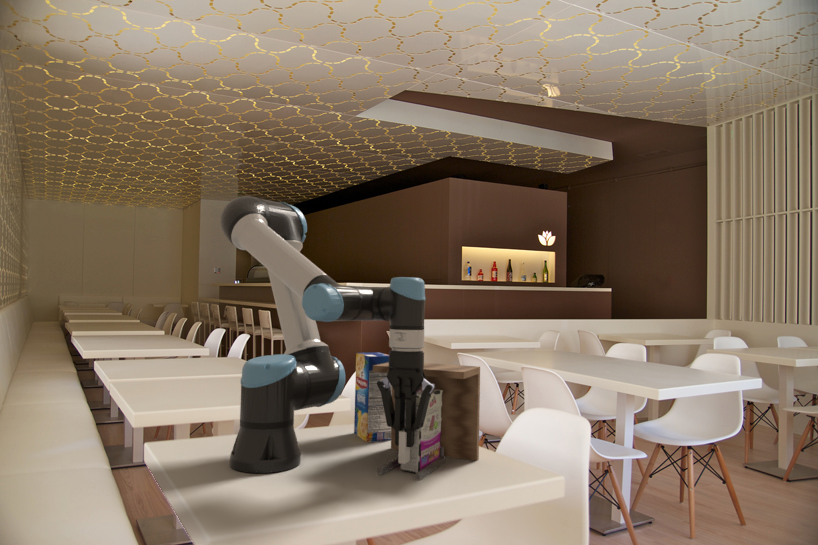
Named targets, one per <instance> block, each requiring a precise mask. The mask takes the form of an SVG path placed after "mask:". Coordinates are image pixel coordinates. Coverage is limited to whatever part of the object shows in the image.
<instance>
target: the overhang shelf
mask: <svg viewBox="0 0 818 545" xmlns="http://www.w3.org/2000/svg"><path fill="white" fill-rule="evenodd" d="M388 371H389V362H388V363H383V364H378V365H373V372H379V373H388ZM423 371H424V374H425V379H426V380H427V381H428V382H430V383H431V384H435V389H438V390H443V393H442V419H441V443H440V457H439V458H438V459H436V460H435V461H433V462H432V463H430V464H429V465H427V466H426V467H425V468H423V469H422V470H420V471H419V472H417V473H415V481H421V480H422V479H425V477H427V476H428V475H430V474H431V473H432V472H434V471H435V470H437V468H439V467H440V466H441V465H443V464H444V463H446V458H452V459H460V460H469V461H475V462H477V461H478V460H479V459H480V458H479V457H480V455H479V454H480V401H481V400H480V398H481V396H480V395H481V392H480V391H481V366H476V365H475V366H473V365H463V364H462V365H461V364H459V365H458V364H446V363H433V362H432V363H431V362H424V369H423ZM420 389H422V385H421V387H420V388H419V389H418V390H420ZM392 400H393V405H394V410H395V397H394V389H393V387H392ZM390 449H391V450H395V451H399V446H396V444H395V429H394V428H392V427H391V440H390ZM398 458H399V455H398V456H396V457H395V458H392V459H391V460H389V461H387V462H386V463H384V464H382V465H380V466H378V468H377V474H378V475H384V474H385V473H387V472H389V471H390V470H392V469H393V468H395V467H397V466H399V465H401V463H398Z"/></svg>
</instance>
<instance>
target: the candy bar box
mask: <svg viewBox="0 0 818 545" xmlns="http://www.w3.org/2000/svg"><path fill="white" fill-rule="evenodd" d="M422 392H423V390H422V389H420V390H418V391H417V396H416V414H417V410H418V406H419V402H420V398H421V394H422ZM442 393H443V390H438V389H434V390H433V392H432V394H431V396H430V400H429V404H428V408H427V412H426V416H425V420H424V424H423V427H422V428H420V429H418V430H415V432H414V445H413V446H412V447H410V461H409V462H407V463H406V464H402V463H400V470H401V471H404V472H410V473H413V474H416V473H417V472H419V471H420V470H422V469H423V468H425V467H426V466H427V465H429V464H430V463H432V462H433V461H435V460H436V459H438V458H439V457H440V443H441V419H442ZM404 426H405V427H404V428H403V430H404V429H406V398H405V415H404Z"/></svg>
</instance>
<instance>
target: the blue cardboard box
mask: <svg viewBox="0 0 818 545" xmlns="http://www.w3.org/2000/svg"><path fill="white" fill-rule="evenodd" d="M355 355H356V356H355V382H354V383H355V388H354V390H355V391H354V421H353V422H354V428H353V433H354V434H355V435H356V436H357V437H359V438H360V439H361V440H363V441H364V442H366V443H371V442H373V443H374V442H385V441H386V442H387V441H391V427H389V426H387V422H386V417H385V411H384V406H383V401H382V395H381V391H380V390H379V388H378V386H377V382H378V381H381V380H383V379H385V378H386V377H387V373H379V372H373V365H378V364H383V363H388V362H389V354H387V353H383V352H380V351H379V352H378V351H377V352H356V353H355ZM390 390H391V395H392V386H391V384H390Z"/></svg>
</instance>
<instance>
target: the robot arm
mask: <svg viewBox="0 0 818 545" xmlns="http://www.w3.org/2000/svg"><path fill="white" fill-rule="evenodd" d="M219 218H220V219H219V225H220V229H221V231H222V233H223V235H224V236H225V238H226V240H228V241H229V243H231V244H232V245H233V246H234V247H235V248H237V249H239V250H241V251H246V252H248V254H250V255H251V256H252V257H253V258H255V260H257V261H258V263H260V264H262V266H264V268H266V269H267V274H268V278H269V282H270V286H271V291H272V294H273V298H274V302H275V308H276V311H277V316H278V320H279V325H280V329H281V332H282V333H281V334H282V336H283V342H284V345H285V351H284V353H281V354H280V353H279V354H272V355H269V354H267V355H261V356H257V357H253V358H251V359H247V361H245V362H244V364H243V366H242V368H241V369H242V370H241V378H240V407H239V408H240V410H239V412H240V413H239V429H238V432H237V435H236V437H235V441H234V443H233V445H232V446H233V447H232V450H231V452H230V455H229V456H230V457H229V467H230V468H231V469H233V470H235V471H238V472H243V473H250V474H252V473H253V474H268V473H279V472H284V471H287V470H290V469H291V470H292V469H293V468H297V467H298V466H299V465H300V464H301V458H302V457H301V455H302V454H301V453H302V452H301V449H300V446H299V442H298V438H297V434H296V432H295V427H294V425H295V424H294V422H295V411H299V410H304V409H311V408H315V407H316V408H320V407H323V406H326V405H327V404H328V405H329V404H332V403H334V402H335V401H337V400H338V398H339V397H340V396H341V395H342V391H343V390H344V389H345V384H346V371H345V367H344V365H343V363H342V362H341V360H340V359H338V358H337V357H335V356H332V355H331V350H330V347H329V345H328V344H326V343H325V342H324V341H321V336H320V332H319V329H318V324H317V322H323V323H329V322H331V323H332V322H346V321H348V322H349V321H350V322H351V321H352V322H353V321H356V322H357V321H360V322H361V321H364V322H365V321H375V322H376V321H380V322H382V321H384V322H389V337H388V338H389V340H388V347H389V348H391V350H389V351H388V355H389V371H388V373H387V377H386V378H385V379H383V380H381V381H378V382H377V386H378V388H379V390H380V391H381V395H382V401H383V406H384V411H385V417H386V422H387V426H389V427H392V428H394V429H395V444H396V446H399V450H398V456H399V458H398V463H400V464H401V463H402V464H406V463H407V462H409V461H410V447H412V446H413V445H414V432H415V430H418V429H420V428H422V427H423V424H424V420H425V416H426V412H427V408H428V404H429V400H430V396H431V394H432V392H433V390H434V389H435V384H431V383H430V382H428V381H427V380H426V379H425V374H424V371H423V369H424V363H425V352H424V351H423V349H424V348H425V307H426V299H427V298H426V292H425V291H426V289H425V288H426V286H425V284H426V283H425V281H424V280H423V279H422V278H420V277H413V276H412V277H409V276H408V277H406V276H397V277H392V278H391V280H390V284H389V286H365V285H364V286H363V285H361V286H360V285H359V286H358V285H357V286H356V285H345V284H344V285H343V284H342V285H341V284H339V283H338V282H336V280H334V279H333V278H332V277H331V276H329V275H328V274H327V273H325V272H324V271H323V270H322V269H321V268H319V267H318V266H317V265H316V264H315V263H313V262H312V261H311V260H310V259H309V258H308V257H306V256H305V255H304V254H302V253H301V250H302V249H303V247H304V246H303V245H304V244H303V243H304V242H305V240H306V237H307V235H306V233H307V232H308V224H307V220H306V217H305V215H304V214H303V212H302V211H301V210H300V209H299V208H298V207H296V206H294V205H291V204H288V203H287V202H283V201H273V200H269V199H264V198H259V197H255V196H251V195H245V196H244V195H243V196H238V197H235V198H234V199H231V200H229V201H228V203H227V204H226V205H225V206H224V207H223V209H222V211H221V214H220V216H219ZM390 384H391V386H392V387H393V389H394V397H395V410H394V405H393V400H392V395H391V390H390ZM421 385H422V390H423V392H422V394H421V398H420V402H419V406H418V410H417V414H416V396H417V391H418V389H419V388H420V387H421ZM405 398H406V429H404V430H403V428H404V427H405V426H404V415H405Z"/></svg>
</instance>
